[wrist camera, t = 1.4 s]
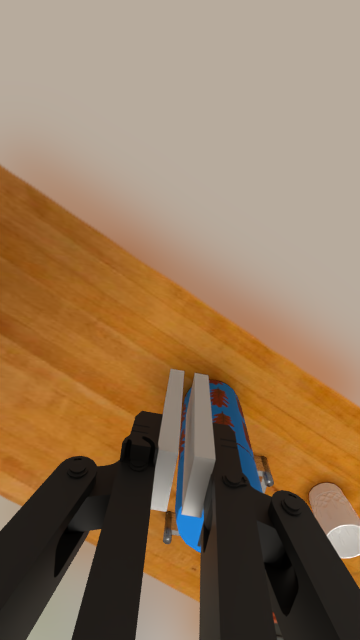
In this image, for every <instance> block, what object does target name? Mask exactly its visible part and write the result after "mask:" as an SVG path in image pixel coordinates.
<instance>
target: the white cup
mask: <svg viewBox="0 0 360 640" xmlns="http://www.w3.org/2000/svg"><path fill="white" fill-rule="evenodd" d="M309 501H310V504H311V507H312V509H313V514H314V516H315V518H316V519H317V521H318V523H319V524H320V526H321V527H322V529H323V531H324V532H325V534H326V536H327V537H328V539H329V540H330V542H331V544H332V545H333V547H334V548H335V550H336V552H337V553H338V555H339V557H340V558H352V557H356V556H358V555H360V518H359V517H358V515H357V514H356V512H355V510H354V509H353V507H352V506H351V504H350V503H349V501H348V500H347V499H346V497H345V496H344V494H343V492H342V491H341V489H340V488H339V487H338V486H336V485H335V484H331V483H322V484H318V485H317V486H315V487H313V488H312V490H311V491H310V493H309Z"/></svg>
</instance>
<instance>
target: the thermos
mask: <svg viewBox="0 0 360 640" xmlns="http://www.w3.org/2000/svg"><path fill="white" fill-rule="evenodd" d="M191 389H192V388H190V390H189V391H188V393H187V394H186V396H185V400H184V405H183V411H182V420H181V434H180V448H179V462H178V476H177V491H176V505H175V512H176V523H177V527H178V532H179V534H180V536H181V537H182V538H183V540H184V541H185V542H186V544H187V545H189V546H190V547H192V548H193V549H195V550H196V551H198V552H200V553H201V546H200V547H199V546H197V545H198V541H199V537H200V533H201V529H202V525H203V521H204V508H203V512H202V516H201V518H199V517H193V516H187V515H182V494H183V473H184V452H185V430H186V414H187V409H188V404H189V399H190V394H191ZM209 390H210V401H211V412H212V422H213V423H218V424H224V425H229V426H230V427H231V428H232V430H233V431H234V432H235V436H236V443H237V446H238V451H239V457H240V462H241V467H242V472H243V473H244V475H245V476H246V477H247V478H248V480H249V482H250V485H251V486H252V487H253V488H254V489H256V490H258V491H260V492H262V493H263V491H262V487H261V483H260V480H259V476H258V472H257V468H256V464H255V460H254V456H253V452H252V448H251V444H250V440H249V436H248V432H247V428H246V424H245V420H244V416H243V412H242V408H241V405H240V403H239V400H238V397H237V395H236V394H235V392H234V390H233V389H232V388H231V387H229V386H228V385H227V384H225V383H222V382H220V381H215V380H209Z"/></svg>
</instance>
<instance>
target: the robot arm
mask: <svg viewBox="0 0 360 640" xmlns="http://www.w3.org/2000/svg"><path fill="white" fill-rule="evenodd" d="M183 382H184V371H181V370H175V369H171V371H170V376H169V382H168V387H167V393H166V399H165V404H164V410H163V414H157V413H151V412H146V411H141V412H140V413H139V414H138V415H137V416H136V417H135V421H134V424H133V427H132V431H131V434H130V435H129V436H128V437H126V438H125V439H124V441H123V443H122V449H121V456H120V460H119V461H117V462H116V463H114V464H111V465H106V466H97V465H96V464H95V462H94V461H93V460H91V459H90V458H88V457H83V456H76V457H71V458H68V459H66V460H65V461H63V462H62V463H61V464H60V465H59V466H58V467H57V468H56V469H55V471H54V472H53V473H52V474H51V475H50V476H49V477H48V478H47V479H46V481H45V482H44V483H43V484H42V485H41V486H40V487H39V488H38V490H37V491H36V492H35V493H34V494H33V495H32V496H31V497H30V499H29V500H28V501H27V502H26V503H25V504H24V505H23V506H22V507H21V509H20V510H19V511H18V512H17V513H16V514H15V515H14V516H13V518H12V519H11V520H10V521H9V522H8V523H7V525H5V526H4V528H3V529H2V530H1V531H0V640H26V639H27V637H28V635H29V634H30V632H31V630H32V629H33V627H34V625H35V624H36V622H37V620H38V618H39V617H40V615H41V613H42V612H43V610H44V608H45V607H46V605H47V603H48V601H49V600H50V598H51V596H52V595H53V593H54V591H55V590H56V588H57V586H58V585H59V583H60V581H61V579H62V577H63V576H64V574H65V573H66V571H67V569H68V567H69V566H70V564H71V562H72V561H73V559H74V557H75V556H76V554H77V552H78V551H79V549H80V547H81V545H82V544H83V542H84V540H85V539H86V537H87V535H88V533H89V531H90V530H97V529H101V533H100V536H99V540H98V544H97V547H96V551H95V555H94V559H93V562H92V566H91V570H90V573H89V577H88V581H87V584H86V588H85V592H84V596H83V599H82V603H81V606H80V610H79V614H78V618H77V621H76V625H75V629H74V632H73V636H72V640H135V636H136V628H137V618H138V611H139V602H140V593H141V585H142V577H143V568H144V560H145V552H146V543H147V535H148V526H149V518H150V509H153V510H159V511H165V512H166V511H167V506H168V501H169V496H170V491H171V486H172V481H173V476H174V471H175V466H176V462H177V457H178V449H179V436H180V422H181V409H182V395H183ZM203 508H204V521H203V525H202V529H201V533H200V537H199V541H198V545H197V546H199V547H200V546H201V571H200V635H199V636H200V637H199V640H277V636H276V630H275V625H274V619H273V613H272V609H273V612H274V615H275V617H276V620H277V623H278V625H279V628H280V631H281V634H282V636H283V639H284V640H360V589H359V587H358V586H357V584H356V582H355V581H354V579H353V578H352V576H351V574H350V573H349V571H348V570H347V568H346V566H345V565H344V563H343V561H342V560H341V558H340V557H339V555H338V553H337V552H336V550H335V548H334V547H333V545H332V544H331V542H330V540H329V539H328V537H327V536H326V534H325V532H324V531H323V529H322V527H321V526H320V524H319V523H318V521H317V519H316V518H315V516H314V515H313V513H312V511H311V510H310V508H309V506H308V505H307V504H306V503H305V501H304V500H303V499H301V498H300V497H299V496H297V495H296V494H294V493H292V492H289V491H283V490H281V491H277V492H275V493H274V494H273V496H272V497H271V496H268V495H266V494H264V493H262V492H260V491H258V490H256V489H254V488H253V487H252V486H251V485H250V482H249V480H248V478H247V477H246V476H245V475H244V473H243V472H242V467H241V462H240V457H239V451H238V446H237V443H236V436H235V432H234V431H233V430H232V428H231V427H230V426H229V425H224V424H218V423H213V422H212V412H211V401H210V390H209V378H208V375H204V374H198V373H195V374H194V379H193V384H192V389H191V394H190V399H189V404H188V409H187V414H186V430H185V452H184V473H183V494H182V515H187V516H193V517H199V518H201V516H202V512H203ZM271 606H272V607H271Z"/></svg>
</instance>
